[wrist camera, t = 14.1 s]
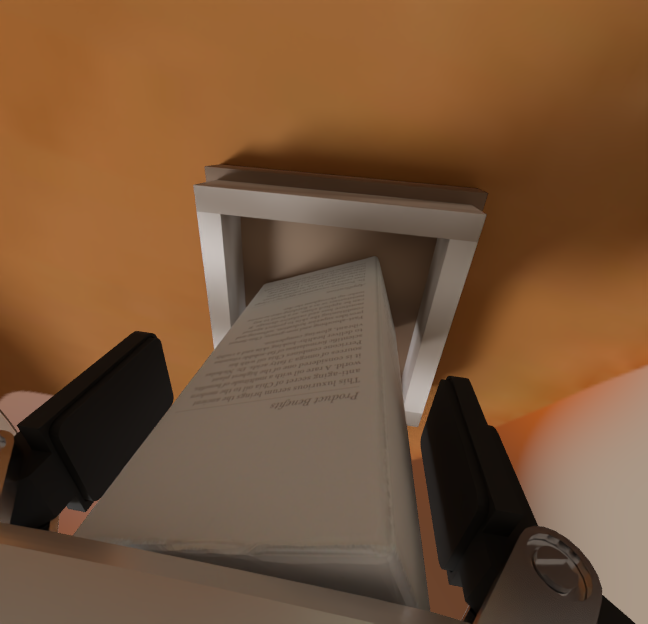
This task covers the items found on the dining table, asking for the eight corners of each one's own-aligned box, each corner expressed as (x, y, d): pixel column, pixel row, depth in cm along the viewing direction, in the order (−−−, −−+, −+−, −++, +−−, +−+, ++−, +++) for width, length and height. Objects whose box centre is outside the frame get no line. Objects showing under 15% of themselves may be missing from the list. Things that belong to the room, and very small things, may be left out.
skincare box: (292, 348, 18) (169, 646, 7) (263, 281, 16) (46, 548, 5) (399, 329, 16) (442, 677, 6) (380, 251, 14) (393, 553, 4)
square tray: (219, 164, 15) (179, 169, 12) (477, 188, 14) (506, 201, 11) (236, 361, 21) (212, 398, 18) (417, 389, 20) (425, 435, 16)
